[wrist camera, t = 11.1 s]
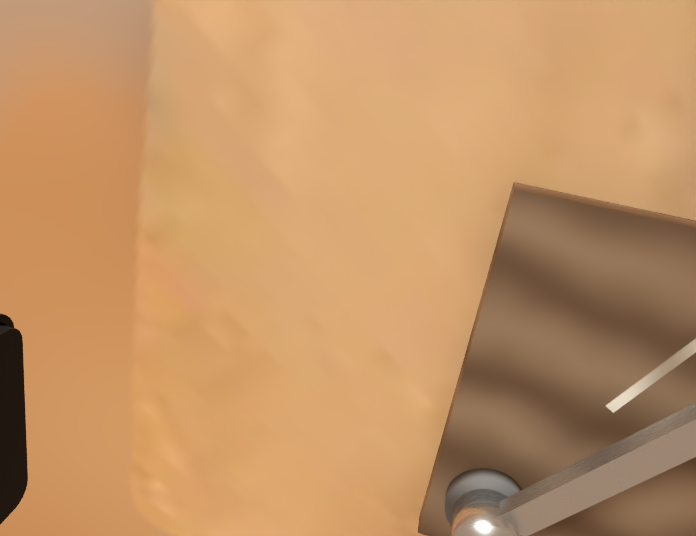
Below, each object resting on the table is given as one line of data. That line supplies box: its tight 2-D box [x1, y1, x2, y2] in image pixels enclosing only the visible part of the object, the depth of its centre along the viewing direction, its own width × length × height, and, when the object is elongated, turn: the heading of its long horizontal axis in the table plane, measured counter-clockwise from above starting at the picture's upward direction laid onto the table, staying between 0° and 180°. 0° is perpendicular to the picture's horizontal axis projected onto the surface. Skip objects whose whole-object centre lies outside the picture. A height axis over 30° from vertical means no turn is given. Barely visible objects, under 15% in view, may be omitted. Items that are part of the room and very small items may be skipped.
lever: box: [452, 403, 696, 536], centre depth 34 cm, size 20×4×7 cm, turn 131°
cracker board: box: [418, 183, 696, 536], centre depth 37 cm, size 24×19×2 cm
